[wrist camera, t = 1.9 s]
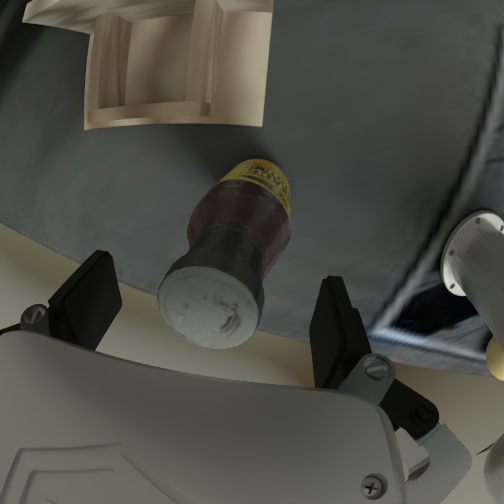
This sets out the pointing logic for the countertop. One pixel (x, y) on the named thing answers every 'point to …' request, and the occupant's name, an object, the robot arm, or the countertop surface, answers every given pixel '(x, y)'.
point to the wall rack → (168, 58)
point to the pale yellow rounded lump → (495, 358)
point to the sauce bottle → (228, 257)
